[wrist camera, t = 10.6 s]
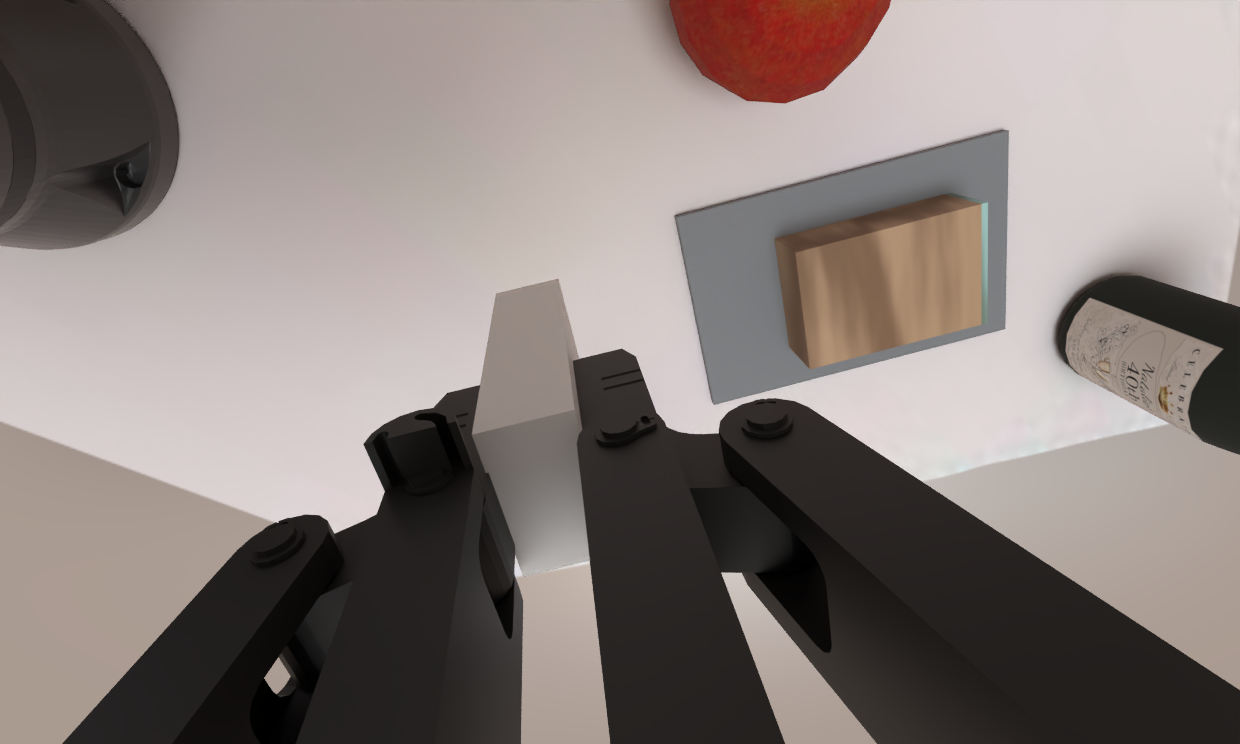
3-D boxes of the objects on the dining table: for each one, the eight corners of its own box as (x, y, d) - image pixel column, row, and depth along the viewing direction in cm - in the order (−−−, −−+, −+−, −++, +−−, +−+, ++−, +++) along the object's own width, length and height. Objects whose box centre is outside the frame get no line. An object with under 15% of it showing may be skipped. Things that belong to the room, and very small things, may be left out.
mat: (712, 401, 47) (713, 404, 47) (675, 215, 42) (676, 217, 41) (1000, 326, 47) (1005, 328, 47) (1002, 130, 42) (1008, 130, 41)
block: (809, 369, 42) (987, 323, 42) (795, 252, 39) (988, 202, 39) (789, 347, 46) (952, 304, 46) (774, 238, 42) (950, 192, 42)
